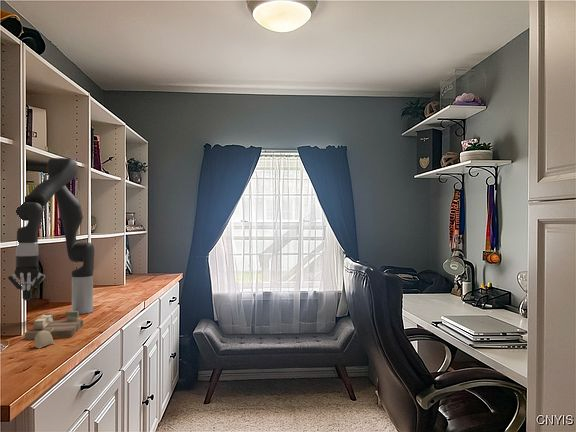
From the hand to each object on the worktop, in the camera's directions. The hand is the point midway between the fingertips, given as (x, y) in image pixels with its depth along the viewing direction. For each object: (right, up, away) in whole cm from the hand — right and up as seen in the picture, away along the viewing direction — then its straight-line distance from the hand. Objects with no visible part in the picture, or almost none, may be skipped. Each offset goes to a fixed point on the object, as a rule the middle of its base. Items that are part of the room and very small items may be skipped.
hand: (27, 299), depth 172 cm
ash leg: (+3, -11, +6) cm, 13 cm away
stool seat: (+8, -14, +6) cm, 17 cm away
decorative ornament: (+14, -14, -13) cm, 23 cm away
